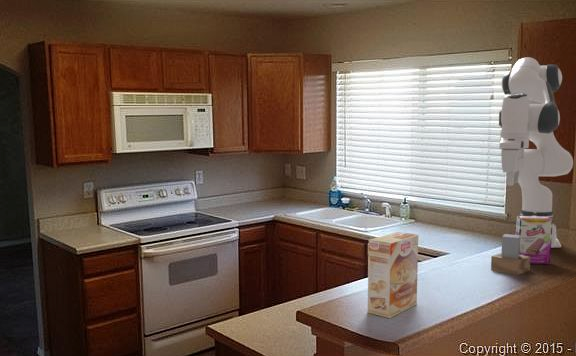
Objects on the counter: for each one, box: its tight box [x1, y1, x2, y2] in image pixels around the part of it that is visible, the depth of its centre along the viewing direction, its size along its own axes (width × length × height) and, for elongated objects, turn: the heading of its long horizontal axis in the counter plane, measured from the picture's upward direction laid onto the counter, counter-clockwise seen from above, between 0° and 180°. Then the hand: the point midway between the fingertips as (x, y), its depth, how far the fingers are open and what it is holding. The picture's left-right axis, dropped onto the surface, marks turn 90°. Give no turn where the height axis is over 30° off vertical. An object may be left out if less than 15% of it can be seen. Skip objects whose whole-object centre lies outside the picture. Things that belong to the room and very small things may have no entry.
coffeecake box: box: [367, 231, 419, 319], centre depth 149 cm, size 15×7×20 cm, turn 139°
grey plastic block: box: [501, 233, 520, 259], centre depth 189 cm, size 5×5×7 cm
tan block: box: [490, 252, 531, 276], centre depth 189 cm, size 9×9×5 cm
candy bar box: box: [515, 215, 554, 265], centre depth 199 cm, size 11×5×16 cm, turn 84°
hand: (512, 184), depth 187 cm, fingers open, 8 cm apart
